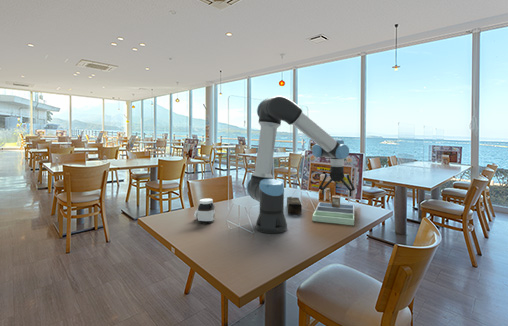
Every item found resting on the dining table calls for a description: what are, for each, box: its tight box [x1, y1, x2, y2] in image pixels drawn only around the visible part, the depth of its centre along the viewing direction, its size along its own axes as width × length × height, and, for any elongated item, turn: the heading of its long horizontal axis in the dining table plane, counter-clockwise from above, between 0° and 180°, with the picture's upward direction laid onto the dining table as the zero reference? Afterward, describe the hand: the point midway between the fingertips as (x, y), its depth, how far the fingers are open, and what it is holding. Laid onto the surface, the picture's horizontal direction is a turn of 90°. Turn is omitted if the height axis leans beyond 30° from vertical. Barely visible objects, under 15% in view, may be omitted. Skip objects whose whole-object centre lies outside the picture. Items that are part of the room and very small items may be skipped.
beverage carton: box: [286, 196, 303, 215], centre depth 162 cm, size 8×19×7 cm, turn 175°
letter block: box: [331, 195, 341, 208], centre depth 161 cm, size 4×5×8 cm
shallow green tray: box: [314, 205, 355, 215], centre depth 152 cm, size 21×9×3 cm, turn 70°
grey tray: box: [317, 201, 355, 210], centre depth 161 cm, size 21×9×3 cm, turn 70°
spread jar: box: [193, 197, 216, 224], centre depth 143 cm, size 12×11×12 cm
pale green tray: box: [312, 210, 355, 226], centre depth 143 cm, size 21×9×3 cm, turn 70°
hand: (336, 201), depth 161 cm, fingers open, 13 cm apart
